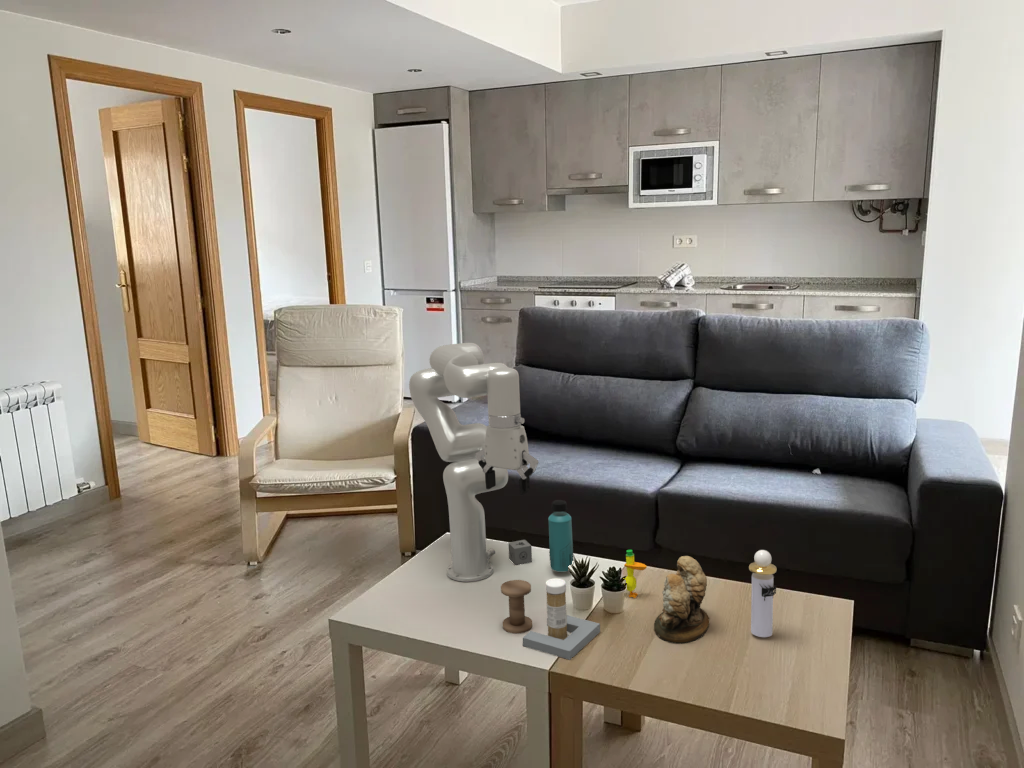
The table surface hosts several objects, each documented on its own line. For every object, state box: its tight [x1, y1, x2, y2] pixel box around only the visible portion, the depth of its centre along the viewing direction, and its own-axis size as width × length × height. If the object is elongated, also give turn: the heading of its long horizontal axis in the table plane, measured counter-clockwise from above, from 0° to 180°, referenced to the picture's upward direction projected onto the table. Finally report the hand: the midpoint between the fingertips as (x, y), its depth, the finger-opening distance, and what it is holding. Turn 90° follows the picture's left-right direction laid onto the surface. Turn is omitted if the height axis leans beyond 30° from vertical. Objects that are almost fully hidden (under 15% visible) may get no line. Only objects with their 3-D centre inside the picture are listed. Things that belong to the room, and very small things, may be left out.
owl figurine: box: [653, 555, 710, 645], centre depth 180 cm, size 18×12×17 cm, turn 153°
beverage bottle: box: [547, 499, 575, 573], centre depth 211 cm, size 6×7×20 cm
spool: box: [500, 579, 534, 635], centre depth 184 cm, size 7×7×10 cm
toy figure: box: [623, 549, 648, 599], centre depth 196 cm, size 7×4×12 cm, turn 63°
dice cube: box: [507, 539, 533, 566], centre depth 222 cm, size 5×5×5 cm
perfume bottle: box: [748, 549, 777, 638], centre depth 174 cm, size 6×6×20 cm
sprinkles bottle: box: [545, 578, 569, 640], centre depth 178 cm, size 5×5×14 cm
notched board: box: [522, 614, 601, 661], centre depth 178 cm, size 14×12×2 cm
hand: (507, 490), depth 188 cm, fingers open, 9 cm apart
